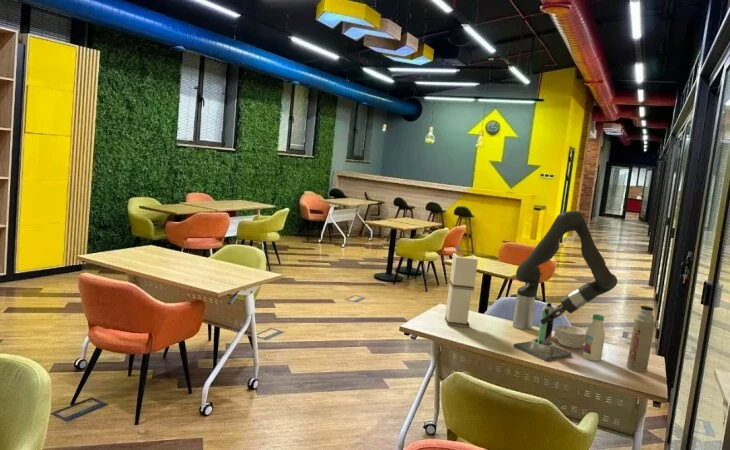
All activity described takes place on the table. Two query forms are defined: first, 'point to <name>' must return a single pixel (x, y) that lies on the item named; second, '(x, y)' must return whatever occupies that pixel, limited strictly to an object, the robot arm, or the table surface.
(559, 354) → the collar plate
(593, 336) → the milk bottle
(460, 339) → the table surface
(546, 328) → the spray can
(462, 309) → the banded white pillar
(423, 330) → the table surface
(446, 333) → the table surface
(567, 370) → the table surface
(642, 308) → the thermos bottle
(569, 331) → the paper bowls
